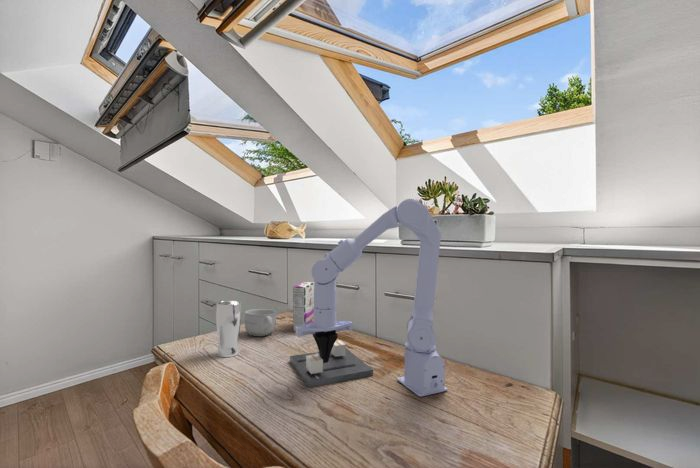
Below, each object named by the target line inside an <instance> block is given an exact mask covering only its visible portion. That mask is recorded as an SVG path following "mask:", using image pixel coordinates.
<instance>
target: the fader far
mask: <svg viewBox="0 0 700 468" xmlns="http://www.w3.org/2000/svg"><path fill="white" fill-rule="evenodd" d="M346 345H347V344H346V343H345V342H344V341H342V340H341V339H340V340H338V339H337V340H336V341H335V343H334V345H333V347H332V350H331V353H332V354H333V355H334V356H335V357H337V356H343V355H345V354H346V349H347V347H346Z"/></svg>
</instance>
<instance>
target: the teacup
mask: <svg viewBox="0 0 700 468" xmlns="http://www.w3.org/2000/svg"><path fill="white" fill-rule="evenodd" d="M277 314H278V312H277V310H274V309H266V308H258V309H257V308H256V309H255V308H254V309H248V310H246V311H244V328H245V331H246V332H247V333H248V334H249V335H250V336H252V335H253V337H265V335H266V336H268V335H270V334H271V333H272V332H273V331H275V328H276V323H277Z"/></svg>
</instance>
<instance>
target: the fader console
mask: <svg viewBox="0 0 700 468" xmlns="http://www.w3.org/2000/svg"><path fill="white" fill-rule="evenodd" d="M315 354H318V355H319V356H320V353H319V351H315V352H309V353H302V354H294V355H289V362H290V365H292V367H293V368H294V370H295V371H296V372H297V374H298V375H299V377H300V378H301V379H302V381H303V382H304V384H305V386H306V387H307V389H311V388H315V387H320V386H326V385H330V384H337V383H341V382H348V381H352V380H358V379H363V378H368V377H373V376H374V369H373V368H371V367H370V366H369V365H368V364H367V363H365V362H364V361H363V360H361V358H359V356H357V355H356V354H354V353H353V352H351V351H350V350H349V349H348V348H346V354H345V355H343V356H337V357H335V356H334V355H333V354H332V353H330V357H329V361H328V362H327V363H323V372H320V373H314V374H311V373H310V372H309V371H308V370H307V368H306V356H309V355H315Z"/></svg>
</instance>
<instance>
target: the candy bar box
mask: <svg viewBox="0 0 700 468" xmlns="http://www.w3.org/2000/svg"><path fill="white" fill-rule="evenodd" d="M292 308H293V309H292V314H293V315H292V319H293V320H292V326H293V327H292V330H293V332H295V331H296V327H298V326H303V325H308V324H312V323H313V322H314V281H302V282H301V283H299V284H298V283H297V284H296V285H294V286H293V287H292Z"/></svg>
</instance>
